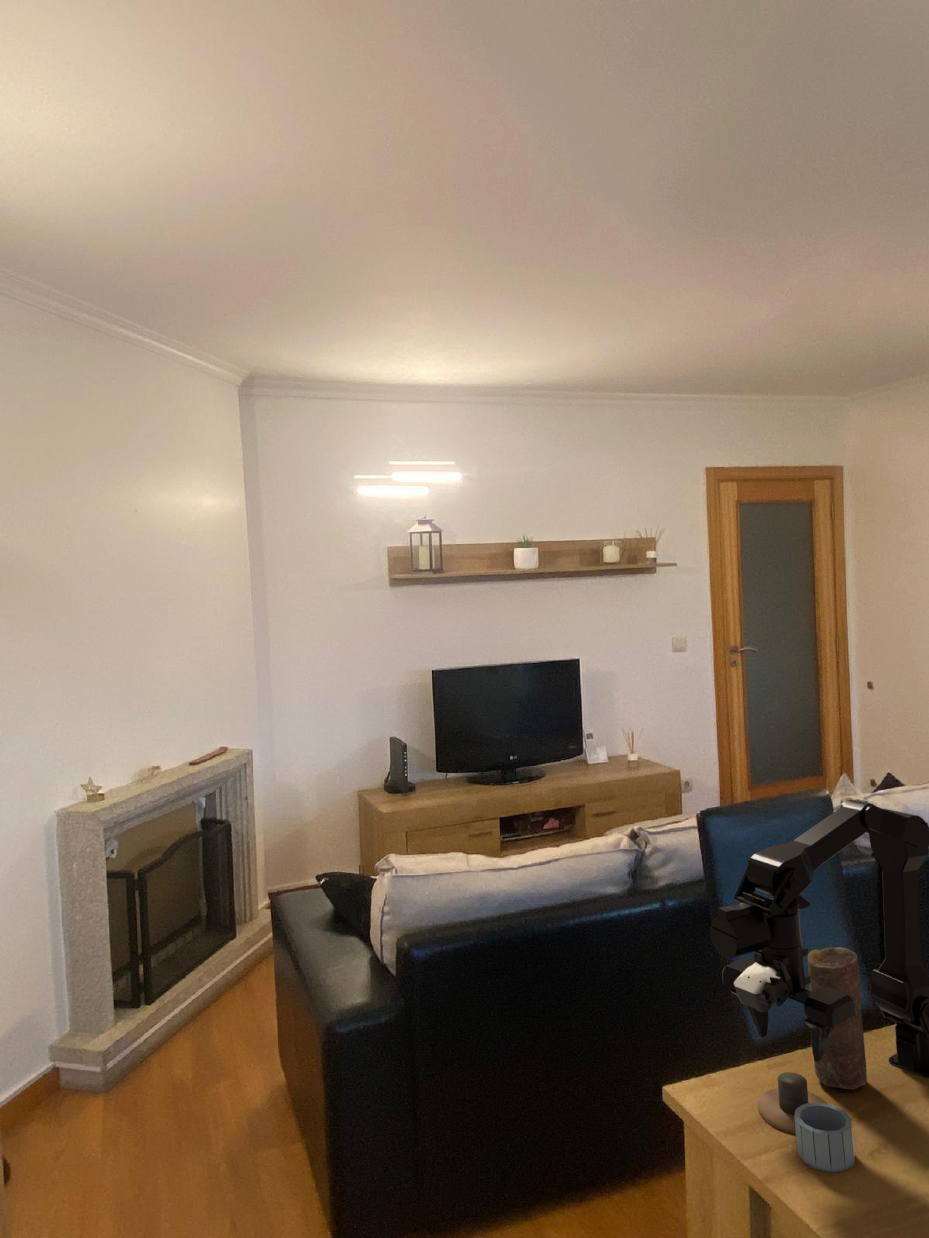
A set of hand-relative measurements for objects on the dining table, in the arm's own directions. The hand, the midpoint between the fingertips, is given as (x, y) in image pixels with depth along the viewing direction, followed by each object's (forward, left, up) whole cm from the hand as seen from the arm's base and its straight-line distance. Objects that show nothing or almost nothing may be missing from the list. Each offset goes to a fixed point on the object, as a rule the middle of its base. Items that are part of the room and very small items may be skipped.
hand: (789, 1048), depth 123 cm
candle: (-11, 0, -10) cm, 15 cm away
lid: (0, 0, -10) cm, 10 cm away
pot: (+5, +8, -9) cm, 14 cm away
